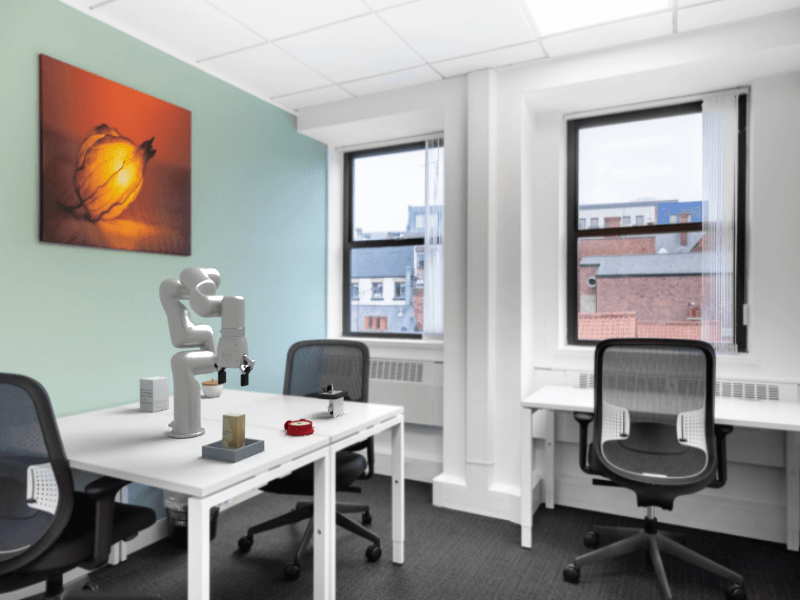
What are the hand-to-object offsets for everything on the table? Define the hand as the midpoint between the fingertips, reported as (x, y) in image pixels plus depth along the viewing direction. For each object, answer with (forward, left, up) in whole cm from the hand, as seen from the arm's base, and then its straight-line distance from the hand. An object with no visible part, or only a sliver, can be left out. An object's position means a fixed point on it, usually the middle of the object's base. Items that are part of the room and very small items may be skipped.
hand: (233, 384), depth 175 cm
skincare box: (0, 0, -22) cm, 22 cm away
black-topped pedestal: (-2, +63, -23) cm, 67 cm away
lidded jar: (-82, +73, -23) cm, 112 cm away
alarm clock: (+2, +33, -23) cm, 40 cm away
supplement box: (-82, +37, -23) cm, 93 cm away
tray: (0, 0, -23) cm, 23 cm away
